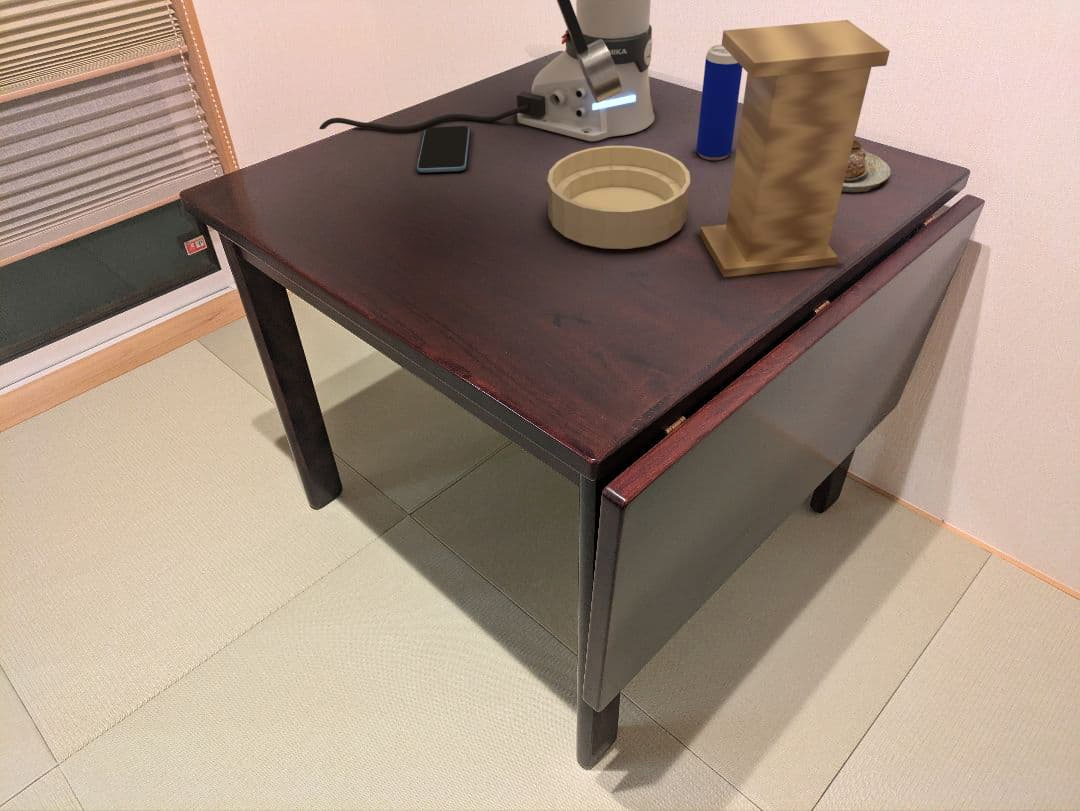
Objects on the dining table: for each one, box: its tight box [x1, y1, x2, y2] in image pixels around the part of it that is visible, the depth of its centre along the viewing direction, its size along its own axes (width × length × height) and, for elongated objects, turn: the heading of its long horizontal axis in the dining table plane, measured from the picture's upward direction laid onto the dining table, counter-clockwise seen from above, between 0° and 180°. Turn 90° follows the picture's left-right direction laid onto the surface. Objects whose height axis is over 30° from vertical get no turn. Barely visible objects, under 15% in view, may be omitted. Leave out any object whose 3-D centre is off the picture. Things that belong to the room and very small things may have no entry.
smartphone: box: [416, 125, 471, 174], centre depth 122 cm, size 7×1×15 cm
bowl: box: [546, 145, 691, 250], centre depth 104 cm, size 18×18×6 cm
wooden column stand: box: [699, 19, 891, 278], centre depth 90 cm, size 14×10×25 cm
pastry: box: [841, 140, 892, 193], centre depth 111 cm, size 12×12×5 cm
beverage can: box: [695, 44, 744, 161], centre depth 114 cm, size 5×5×15 cm
